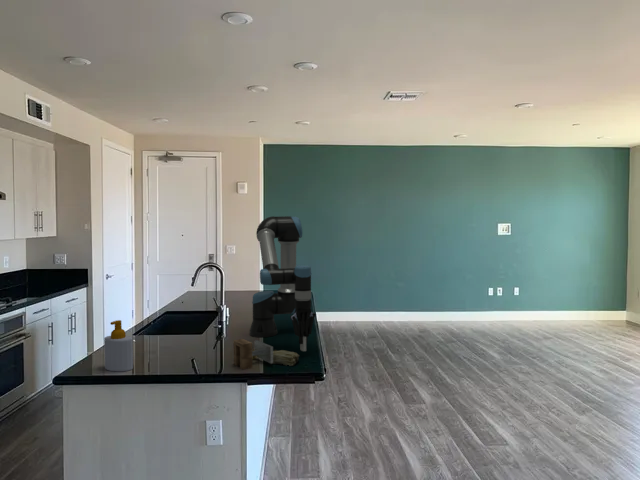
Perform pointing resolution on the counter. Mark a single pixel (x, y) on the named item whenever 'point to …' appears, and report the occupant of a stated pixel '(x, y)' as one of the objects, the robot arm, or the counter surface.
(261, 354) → the plate
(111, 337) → the soap bottle
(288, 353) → the mushroom
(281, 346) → the counter surface
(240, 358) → the base
